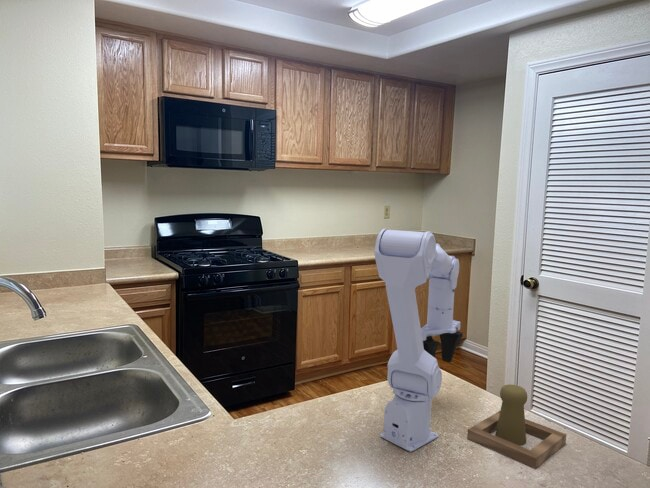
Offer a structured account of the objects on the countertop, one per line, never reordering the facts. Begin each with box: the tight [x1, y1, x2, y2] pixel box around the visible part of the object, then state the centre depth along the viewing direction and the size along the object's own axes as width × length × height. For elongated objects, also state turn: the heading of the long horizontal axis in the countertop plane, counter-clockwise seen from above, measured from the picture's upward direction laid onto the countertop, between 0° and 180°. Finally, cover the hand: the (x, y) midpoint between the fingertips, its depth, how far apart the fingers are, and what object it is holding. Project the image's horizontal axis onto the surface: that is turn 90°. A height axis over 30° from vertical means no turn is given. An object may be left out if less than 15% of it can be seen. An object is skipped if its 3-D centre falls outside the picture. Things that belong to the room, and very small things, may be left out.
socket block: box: [466, 410, 567, 469], centre depth 97 cm, size 14×14×2 cm
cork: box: [494, 384, 528, 447], centre depth 98 cm, size 6×6×11 cm
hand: (437, 364), depth 110 cm, fingers open, 7 cm apart
